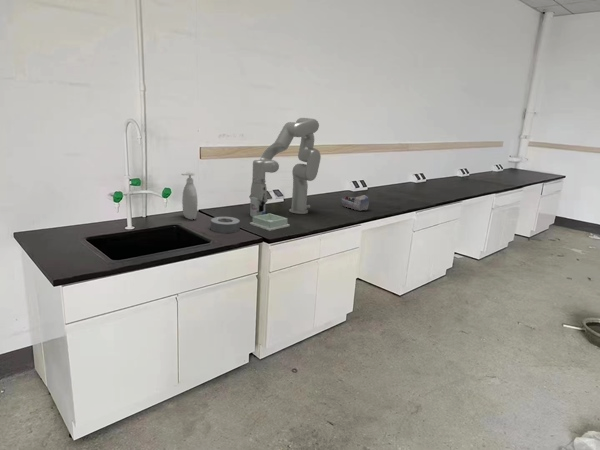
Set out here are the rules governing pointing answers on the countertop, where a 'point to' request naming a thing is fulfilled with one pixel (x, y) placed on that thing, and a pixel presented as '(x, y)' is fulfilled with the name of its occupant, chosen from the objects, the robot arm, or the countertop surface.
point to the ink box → (255, 207)
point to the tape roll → (225, 224)
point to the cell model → (356, 202)
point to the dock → (269, 222)
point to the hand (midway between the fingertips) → (257, 210)
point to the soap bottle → (189, 198)
